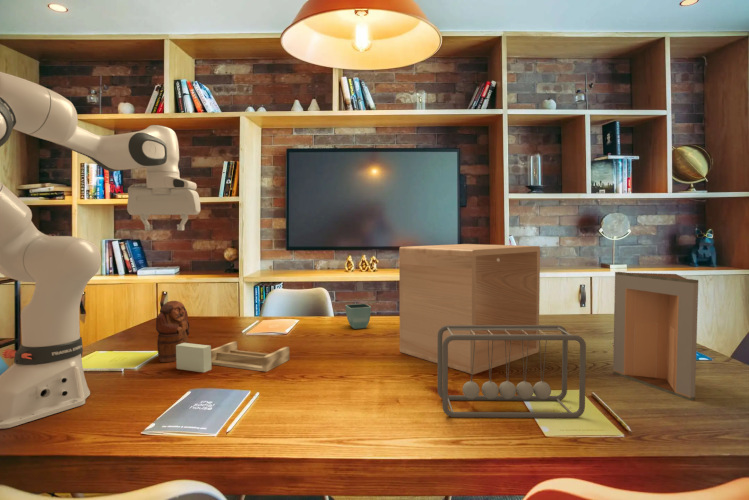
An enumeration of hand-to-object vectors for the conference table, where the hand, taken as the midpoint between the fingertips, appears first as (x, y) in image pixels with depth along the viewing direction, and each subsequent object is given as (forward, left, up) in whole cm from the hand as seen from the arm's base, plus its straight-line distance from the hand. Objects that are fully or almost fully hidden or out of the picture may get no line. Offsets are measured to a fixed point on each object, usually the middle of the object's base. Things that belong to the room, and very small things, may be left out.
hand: (164, 230), depth 130 cm
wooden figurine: (+7, +4, -40) cm, 41 cm away
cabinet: (+32, -133, -40) cm, 143 cm away
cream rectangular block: (0, -10, -40) cm, 41 cm away
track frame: (+11, -21, -40) cm, 46 cm away
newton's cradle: (+2, -97, -40) cm, 105 cm away
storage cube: (+44, -82, -40) cm, 101 cm away
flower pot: (+65, -34, -40) cm, 83 cm away
